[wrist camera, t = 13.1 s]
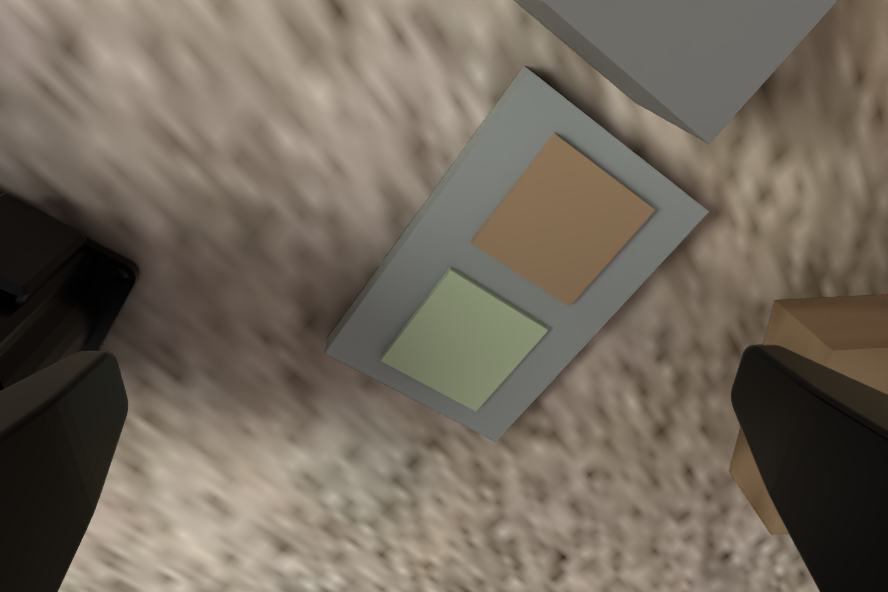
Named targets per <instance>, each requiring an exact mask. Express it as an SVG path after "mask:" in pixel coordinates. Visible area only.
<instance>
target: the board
mask: <svg viewBox="0 0 888 592" xmlns="http://www.w3.org/2000/svg"><path fill="white" fill-rule="evenodd" d="M708 212H709V211H708V210H706V209H705V208H704V207H703V206H701V205H700V204H699V203H697V202H696V201H695V200H694V199H692V198H691V197H690V196H689V195H687V194H686V193H685V192H684V191H682V190H681V189H680V188H678V187H677V186H676V185H675V184H673V183H672V182H671V181H670V180H668V179H667V178H666V177H664V176H663V175H662V174H661V173H659V172H658V171H657V170H656V169H654V168H653V167H652V166H651V165H649V164H648V163H647V162H645V161H644V160H643V159H642V158H640V157H639V156H638V155H637V154H635V153H634V152H633V151H632V150H630V149H629V148H628V147H626V146H625V145H624V144H623V143H621V142H620V141H619V140H618V139H616V138H615V137H614V136H612V135H611V134H610V133H609V132H607V131H606V130H605V129H604V128H602V127H601V126H600V125H599V124H597V123H596V122H595V121H593V120H592V119H591V118H590V117H588V116H587V115H586V114H585V113H583V112H582V111H581V110H580V109H578V108H577V107H576V106H574V105H573V104H572V103H571V102H569V101H568V100H567V99H566V98H564V97H563V96H562V95H561V94H559V93H558V92H557V91H555V90H554V89H553V88H552V87H550V86H549V85H548V84H547V83H545V82H544V81H543V80H541V79H540V78H539V77H538V76H536V75H535V74H534V73H533V72H531V71H530V70H529V69H527V68H526V67H525V66H523V68H522V69H521V70H520V72H519V73H518V75H517V76H516V77H515V79H514V80H513V81H512V83H511V84H510V86H509V87H508V88H507V90H506V91H505V93H504V94H503V95H502V97H501V98H500V99H499V101H498V102H497V104H496V105H495V106H494V108H493V109H492V111H491V112H490V113H489V115H488V116H487V118H486V119H485V120H484V122H483V123H482V124H481V126H480V127H479V129H478V130H477V131H476V133H475V134H474V136H473V137H472V138H471V140H470V141H469V142H468V144H467V145H466V147H465V148H464V149H463V151H462V152H461V154H460V155H459V156H458V158H457V159H456V161H455V162H454V163H453V165H452V166H451V167H450V169H449V170H448V172H447V173H446V174H445V176H444V177H443V179H442V180H441V181H440V183H439V184H438V185H437V187H436V188H435V190H434V191H433V192H432V194H431V195H430V197H429V198H428V199H427V201H426V202H425V204H424V205H423V206H422V208H421V209H420V210H419V212H418V213H417V215H416V216H415V217H414V219H413V220H412V222H411V223H410V224H409V226H408V227H407V229H406V230H405V231H404V233H403V234H402V235H401V237H400V238H399V240H398V241H397V242H396V244H395V245H394V247H393V248H392V249H391V251H390V252H389V253H388V255H387V256H386V258H385V259H384V260H383V262H382V263H381V265H380V266H379V267H378V269H377V270H376V272H375V273H374V274H373V276H372V277H371V278H370V280H369V281H368V283H367V284H366V285H365V287H364V288H363V290H362V291H361V292H360V294H359V295H358V296H357V298H356V299H355V301H354V302H353V303H352V305H351V306H350V308H349V309H348V310H347V312H346V313H345V315H344V316H343V317H342V319H341V320H340V321H339V323H338V324H337V326H336V327H335V328H334V330H333V331H332V333H331V334H330V335H329V337H328V338H327V341H326V347H325V354H327V355H329V356H330V357H332V358H334V359H336V360H338V361H340V362H342V363H344V364H346V365H348V366H350V367H352V368H354V369H355V370H357V371H359V372H361V373H363V374H365V375H367V376H369V377H371V378H373V379H375V380H377V381H379V382H381V383H382V384H384V385H386V386H388V387H390V388H392V389H394V390H396V391H398V392H400V393H402V394H404V395H406V396H408V397H409V398H411V399H413V400H415V401H417V402H419V403H421V404H423V405H425V406H427V407H429V408H431V409H433V410H435V411H436V412H438V413H440V414H442V415H444V416H446V417H448V418H450V419H452V420H454V421H456V422H458V423H460V424H462V425H463V426H465V427H467V428H469V429H471V430H473V431H475V432H477V433H479V434H481V435H483V436H485V437H487V438H489V439H490V440H492V441H494V442H496V441H497V440H498V439H499V438H500V437H501V436H502V435H503V434H504V433H505V431H506V430H507V429H508V428H509V427H510V426H511V425H512V424H513V423H514V422H515V421H516V420H517V418H518V417H519V416H520V415H521V414H522V413H523V412H524V411H525V410H526V409H527V408H528V407H529V406H530V404H531V403H532V402H533V401H534V400H535V399H536V398H537V397H538V396H539V395H540V394H541V393H542V392H543V390H544V389H545V388H546V387H547V386H548V385H549V384H550V383H551V382H552V381H553V380H554V379H555V377H556V376H557V375H558V374H559V373H560V372H561V371H562V370H563V369H564V368H565V367H566V366H567V365H568V363H569V362H570V361H571V360H572V359H573V358H574V357H575V356H576V355H577V354H578V353H579V352H580V350H581V349H582V348H583V347H584V346H585V345H586V344H587V343H588V342H589V341H590V340H591V339H592V338H593V336H594V335H595V334H596V333H597V332H598V331H599V330H600V329H601V328H602V327H603V326H604V325H605V323H606V322H607V321H608V320H609V319H610V318H611V317H612V316H613V315H614V314H615V313H616V312H617V311H618V309H619V308H620V307H621V306H622V305H623V304H624V303H625V302H626V301H627V300H628V299H629V298H630V296H631V295H632V294H633V293H634V292H635V291H636V290H637V289H638V288H639V287H640V286H641V285H642V284H643V282H644V281H645V280H646V279H647V278H648V277H649V276H650V275H651V274H652V273H653V272H654V271H655V270H656V268H657V267H658V266H659V265H660V264H661V263H662V262H663V261H664V260H665V259H666V258H667V257H668V255H669V254H670V253H671V252H672V251H673V250H674V249H675V248H676V247H677V246H678V245H679V244H680V243H681V241H682V240H683V239H684V238H685V237H686V236H687V235H688V234H689V233H690V232H691V231H692V230H693V228H694V227H695V226H696V225H697V224H698V223H699V222H700V221H701V220H702V219H703V218H704V217H705V216H706V214H707V213H708Z"/></svg>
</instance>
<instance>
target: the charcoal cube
mask: <svg viewBox="0 0 888 592" xmlns="http://www.w3.org/2000/svg"><path fill="white" fill-rule="evenodd" d="M514 1H515V2H516V3H518V4H519V5H520V6H521V7H522V8H523V9H525V10H526V11H527V12H528V13H529V14H531V15H532V16H533V17H534V18H535V19H536V20H538V21H539V22H540V23H541V24H542V25H544V26H545V27H546V28H547V29H548V30H550V31H551V32H552V33H553V34H554V35H555V36H557V37H558V38H559V39H560V40H561V41H563V42H564V43H565V44H566V45H567V46H568V47H570V48H571V49H572V50H573V51H574V52H576V53H577V54H578V55H579V56H580V57H582V58H583V59H584V60H585V61H586V62H587V63H589V64H590V65H591V66H592V67H593V68H595V69H596V70H597V71H598V72H599V73H600V74H602V75H603V76H604V77H605V78H606V79H608V80H609V81H610V82H611V83H612V84H613V85H615V86H616V87H617V88H618V89H619V90H621V91H622V92H623V93H624V94H625V95H627V96H628V97H629V98H630V99H631V100H632V101H634V102H635V103H637V104H639V105H640V106H642V107H644V108H646V109H647V110H649V111H651V112H653V113H655V114H656V115H658V116H660V117H662V118H663V119H665V120H667V121H669V122H671V123H672V124H674V125H676V126H678V127H679V128H681V129H683V130H685V131H686V132H688V133H690V134H692V135H694V136H695V137H697V138H699V139H701V140H702V141H704V142H706V143H708V144H709V143H710V142H711V141H712V140H713V139H714V138H715V137H716V136H717V134H718V133H719V132H720V131H721V130H722V129H723V128H724V127H725V126H726V124H727V123H728V122H729V121H730V120H731V119H732V118H733V117H734V116H735V114H736V113H737V112H738V111H739V110H740V109H741V108H742V107H743V106H744V104H745V103H746V102H747V101H748V100H749V99H750V98H751V97H752V95H753V94H754V93H755V92H756V91H757V90H758V89H759V88H760V87H761V85H762V84H763V83H764V82H765V81H766V80H767V79H768V78H769V77H770V75H771V74H772V73H773V72H774V71H775V70H776V69H777V68H778V67H779V65H780V64H781V63H782V62H783V61H784V60H785V59H786V58H787V56H788V55H789V54H790V53H791V52H792V51H793V50H794V49H795V48H796V46H797V45H798V44H799V43H800V42H801V41H802V40H803V39H804V38H805V36H806V35H807V34H808V33H809V32H810V31H811V30H812V29H813V28H814V26H815V25H816V24H817V23H818V22H819V21H820V20H821V19H822V17H823V16H824V15H825V14H826V13H827V12H828V11H829V10H830V9H831V7H832V6H833V5H834V4H835V3H836V2H837V1H838V0H514Z"/></svg>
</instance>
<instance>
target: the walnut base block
mask: <svg viewBox="0 0 888 592" xmlns="http://www.w3.org/2000/svg"><path fill="white" fill-rule="evenodd" d="M767 344H774V345H779V346H782V347H784V348H786V349H788V350H791V351H793V352H795V353H797V354H799V355H802V356H804V357H806V358H808V359H811V360H813V361H815V362H817V363H819V364H822V365H824V366H826V367H828V368H830V369H833V370H835V371H837V372H839V373H841V374H844V375H846V376H848V377H850V378H852V379H855V380H857V381H859V382H861V383H863V384H866V385H868V386H870V387H872V388H874V389H877V390H879V391H881V392H883V393H885V394H888V294H881V295H862V296H843V297H824V298H805V299H786V300H774V304H773V308H772V311H771V315H770V319H769V323H768V326H767V330H766V334H765V338H764V341H763V345H767ZM729 472H730V474H731V475H732V477H733V478H734V480H735V481H736V483H737V484H738V486H739V487H740V489H741V490H742V492H743V493H744V495H745V496H746V498H747V499H748V501H749V502H750V504H751V505H752V507H753V508H754V510H755V511H756V513H757V514H758V516H759V517H760V519H761V520H762V522H763V523H764V525H765V526H766V528H767V529H768V531H769V532H770V534H771V535H779V534H789V533H788V531H787V529H786V527H785V525H784V523H783V522H782V520H781V518H780V516H779V514H778V512H777V510H776V508H775V506H774V504H773V502H772V500H771V498H770V496H769V494H768V492H767V490H766V487H765V485H764V483H763V481H762V478H761V476H760V473H759V471H758V468H757V466H756V463H755V461H754V458H753V456H752V453H751V451H750V448H749V446H748V443H747V441H746V438H745V436H744V433H743V431H742V428H741V427H740V431H739V435H738V438H737V442H736V446H735V450H734V453H733V457H732V461H731V465H730V468H729Z"/></svg>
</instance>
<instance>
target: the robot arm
mask: <svg viewBox="0 0 888 592" xmlns="http://www.w3.org/2000/svg"><path fill="white" fill-rule="evenodd" d="M119 269H120V270H123V271H125V272H126V273H127V274H128V278H124V277H122V276H120V275H119V274H118V272H117V270H119ZM139 276H140V271H139V268H138V266H137V265H136V264H135V263H134V262H133V261H131V260H129V259H127V258H125V257H124V256H122V255H120V254H118V253H116V252H114V251H112V250H110V249H108V248H106V247H104V246H102V245H100V244H98V243H96V242H94V241H92V240H90V239H89V238H87V237H85V236H84V235H83V234H82V232H80V231H78V230H77V229H75V228H73V227H71V226H69V225H67V224H65V223H63V222H61V221H59V220H57V219H55V218H53V217H51V216H49V215H47V214H46V213H44V212H42V211H40V210H38V209H36V208H34V207H32V206H30V205H28V204H26V203H24V202H22V201H20V200H18V199H16V198H15V197H13V196H11V195H9V194H1V193H0V592H58V590H59V588H60V586H61V584H62V581H63V579H64V577H65V575H66V573H67V571H68V569H69V566H70V564H71V562H72V560H73V558H74V556H75V553H76V551H77V549H78V547H79V545H80V543H81V541H82V538H83V536H84V534H85V532H86V530H87V528H88V525H89V523H90V521H91V518H92V516H93V514H94V511H95V509H96V506H97V503H98V500H99V498H100V495H101V492H102V489H103V486H104V483H105V480H106V477H107V474H108V471H109V468H110V465H111V462H112V459H113V456H114V453H115V450H116V447H117V444H118V441H119V438H120V435H121V432H122V429H123V426H124V423H125V420H126V416H127V412H128V399H127V395H126V391H125V387H124V384H123V380H122V376H121V373H120V369H119V366H118V362H117V359H116V357H115V356H114V354H112V353H111V352H109V351H99V350H100V348H101V347H102V345H103V343H104V341H105V339H106V338H107V336H108V334H109V332H110V330H111V328H112V327H113V325H114V323H115V321H116V319H117V318H118V316H119V314H120V312H121V310H122V308H123V307H124V305H125V303H126V301H127V299H128V297H129V296H130V294H131V292H132V290H133V288H134V287H135V285H136V283H137V281H138V279H139ZM731 401H732V406H733V409H734V411H735V414H736V416H737V419H738V421H739V424H740V426H741V428H742V431H743V433H744V436H745V438H746V441H747V443H748V446H749V448H750V451H751V453H752V456H753V458H754V461H755V463H756V466H757V468H758V471H759V473H760V476H761V478H762V481H763V483H764V485H765V487H766V490H767V492H768V494H769V496H770V498H771V500H772V502H773V504H774V506H775V508H776V510H777V512H778V514H779V516H780V518H781V520H782V522H783V523H784V525H785V527H786V529H787V531H788V533H789V535H790V537H791V538H792V540H793V542H794V544H795V546H796V548H797V550H798V552H799V553H800V555H801V557H802V559H803V561H804V563H805V565H806V566H807V568H808V570H809V572H810V574H811V576H812V578H813V580H814V581H815V583H816V585H817V587H818V589H819V591H820V592H888V394H885V393H883V392H881V391H879V390H877V389H874V388H872V387H870V386H868V385H866V384H863V383H861V382H859V381H857V380H855V379H852V378H850V377H848V376H846V375H844V374H841V373H839V372H837V371H835V370H833V369H830V368H828V367H826V366H824V365H822V364H819V363H817V362H815V361H813V360H811V359H808V358H806V357H804V356H802V355H799V354H797V353H795V352H793V351H791V350H788V349H786V348H784V347H782V346H779V345H774V344H767V345H751V346H749V347H747V348H746V349H745V351H744V352H743V355H742V358H741V361H740V364H739V368H738V371H737V374H736V377H735V380H734V384H733V387H732V391H731Z"/></svg>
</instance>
